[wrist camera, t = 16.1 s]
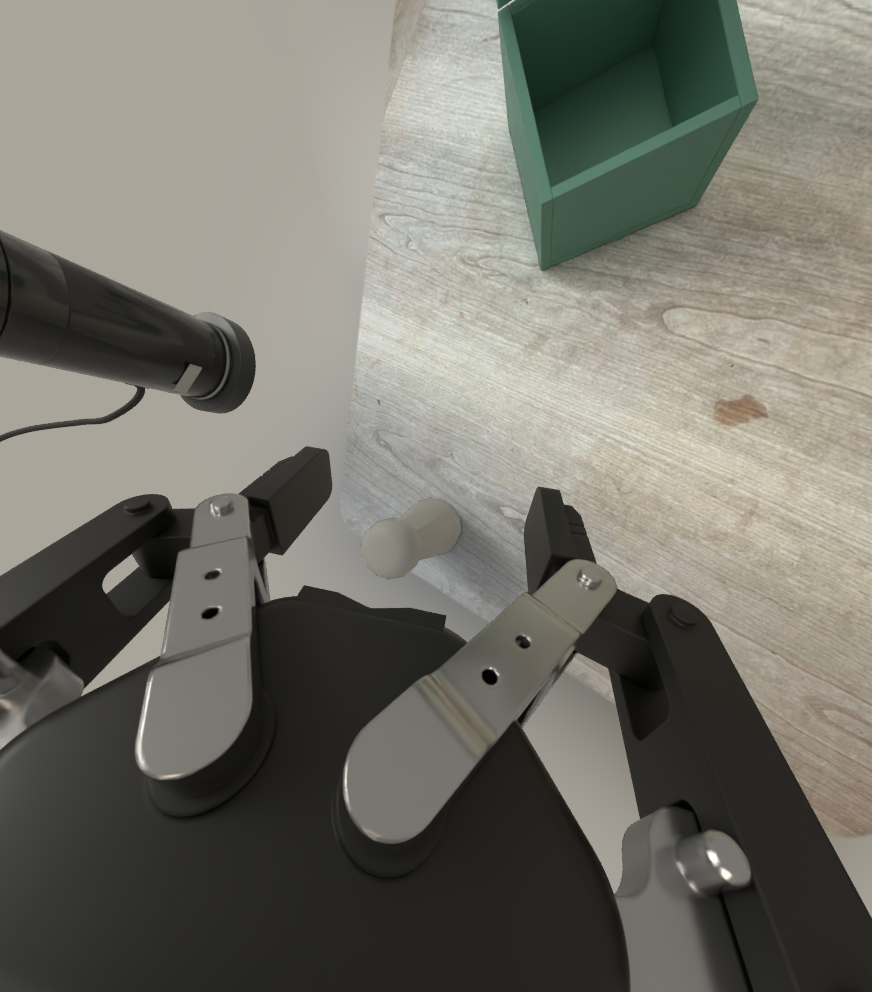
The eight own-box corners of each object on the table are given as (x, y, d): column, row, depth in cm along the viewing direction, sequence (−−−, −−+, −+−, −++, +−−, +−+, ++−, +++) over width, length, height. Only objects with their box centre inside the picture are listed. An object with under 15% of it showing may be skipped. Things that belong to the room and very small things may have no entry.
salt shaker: (405, 510, 36) (333, 530, 23) (450, 486, 34) (397, 495, 21) (429, 558, 35) (368, 605, 23) (475, 536, 33) (436, 575, 21)
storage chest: (696, 205, 26) (759, 98, 18) (541, 271, 30) (541, 204, 22) (659, 39, 26) (706, -135, 18) (508, 126, 30) (497, 11, 22)
